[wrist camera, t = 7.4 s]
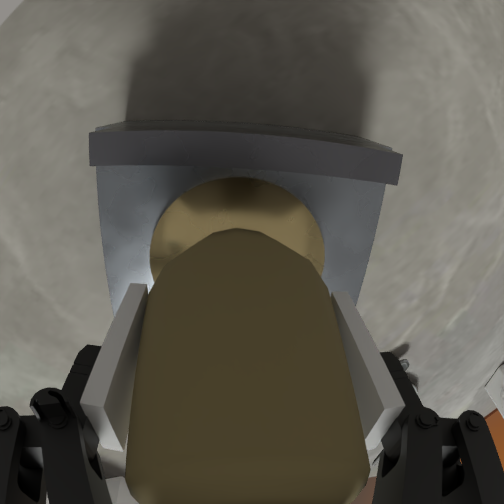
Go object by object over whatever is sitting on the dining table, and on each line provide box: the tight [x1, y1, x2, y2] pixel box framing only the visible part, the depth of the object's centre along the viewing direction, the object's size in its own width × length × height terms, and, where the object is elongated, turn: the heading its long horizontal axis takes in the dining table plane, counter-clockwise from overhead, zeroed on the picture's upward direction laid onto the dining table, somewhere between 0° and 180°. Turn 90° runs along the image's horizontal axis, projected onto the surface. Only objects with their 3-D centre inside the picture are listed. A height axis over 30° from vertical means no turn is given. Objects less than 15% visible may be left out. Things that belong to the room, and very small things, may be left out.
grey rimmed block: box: [89, 120, 403, 317], centre depth 19 cm, size 16×15×8 cm
